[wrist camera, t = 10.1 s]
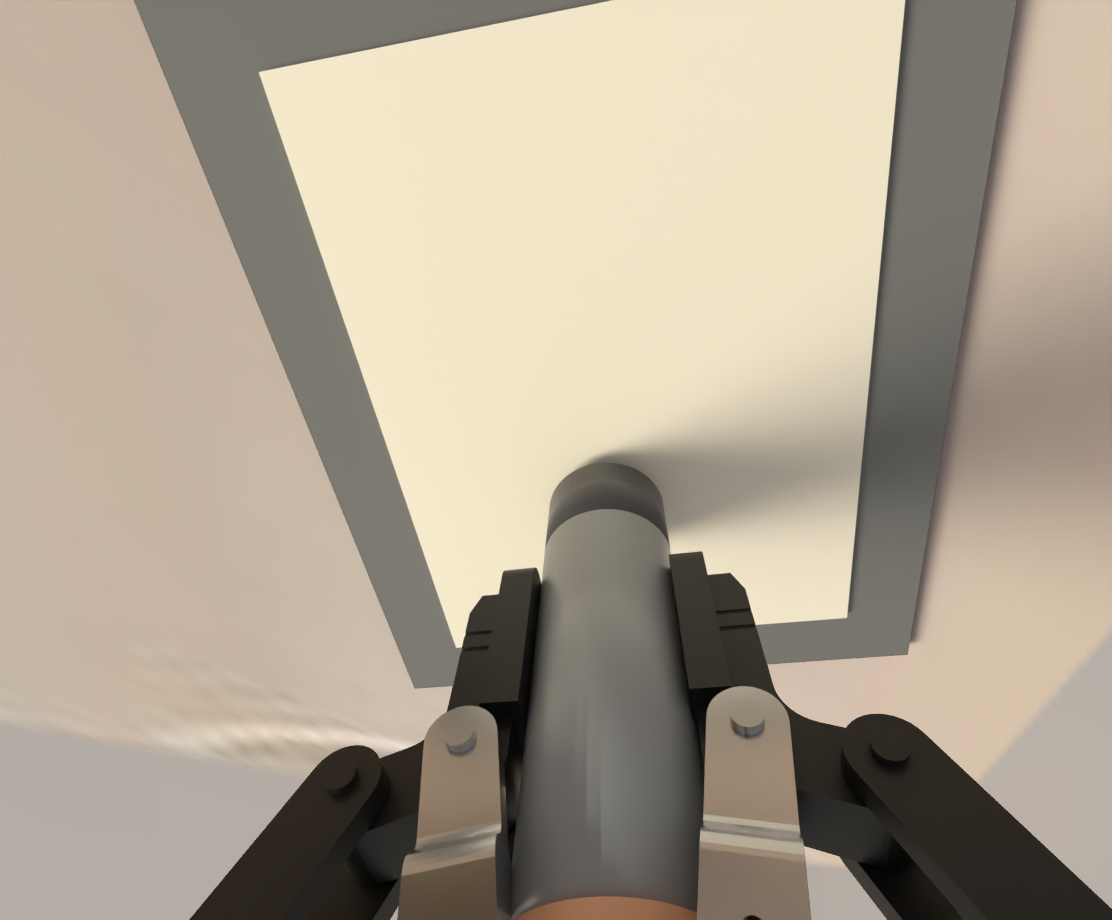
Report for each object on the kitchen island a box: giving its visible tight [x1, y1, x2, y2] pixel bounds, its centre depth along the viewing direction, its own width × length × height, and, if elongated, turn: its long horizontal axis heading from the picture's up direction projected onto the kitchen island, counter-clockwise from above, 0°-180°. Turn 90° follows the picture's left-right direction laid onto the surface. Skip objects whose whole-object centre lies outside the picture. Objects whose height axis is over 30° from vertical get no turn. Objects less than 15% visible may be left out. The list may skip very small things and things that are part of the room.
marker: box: [511, 463, 705, 920], centre depth 12 cm, size 3×3×12 cm
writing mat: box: [134, 0, 1017, 689], centre depth 16 cm, size 20×16×1 cm
